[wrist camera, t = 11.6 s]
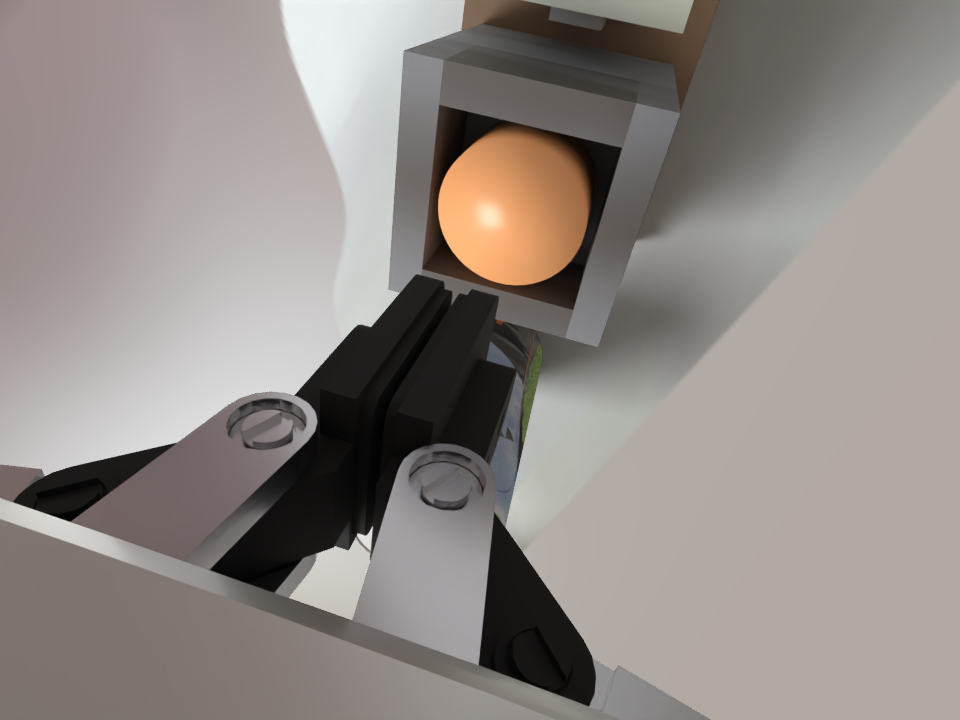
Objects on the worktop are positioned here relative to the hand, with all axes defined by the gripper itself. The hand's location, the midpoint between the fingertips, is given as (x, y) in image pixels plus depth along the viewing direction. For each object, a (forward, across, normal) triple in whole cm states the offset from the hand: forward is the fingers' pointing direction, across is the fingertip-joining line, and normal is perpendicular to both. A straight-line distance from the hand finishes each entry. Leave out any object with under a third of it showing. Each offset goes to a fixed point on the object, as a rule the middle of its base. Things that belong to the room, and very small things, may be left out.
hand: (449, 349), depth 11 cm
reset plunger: (+8, 0, -1) cm, 8 cm away
